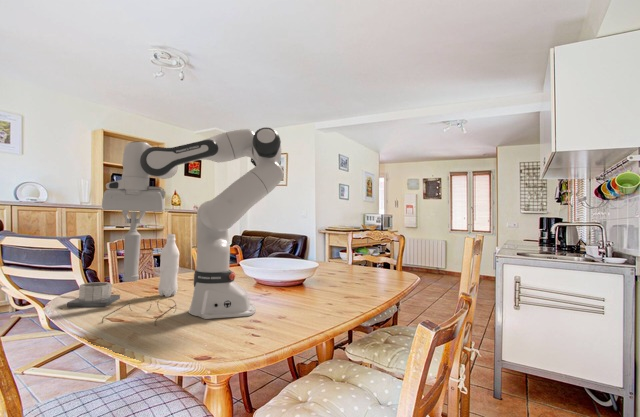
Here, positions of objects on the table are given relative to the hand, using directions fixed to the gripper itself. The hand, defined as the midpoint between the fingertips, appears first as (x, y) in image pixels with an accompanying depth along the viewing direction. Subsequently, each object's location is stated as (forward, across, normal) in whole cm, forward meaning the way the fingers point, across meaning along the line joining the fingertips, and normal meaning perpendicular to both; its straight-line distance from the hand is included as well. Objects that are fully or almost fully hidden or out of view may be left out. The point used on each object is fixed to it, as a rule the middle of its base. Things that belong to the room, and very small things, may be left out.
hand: (133, 223), depth 118 cm
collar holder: (+29, +12, -3) cm, 32 cm away
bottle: (+21, 0, 0) cm, 21 cm away
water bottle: (+30, -10, -14) cm, 34 cm away
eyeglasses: (+30, -10, +16) cm, 35 cm away
